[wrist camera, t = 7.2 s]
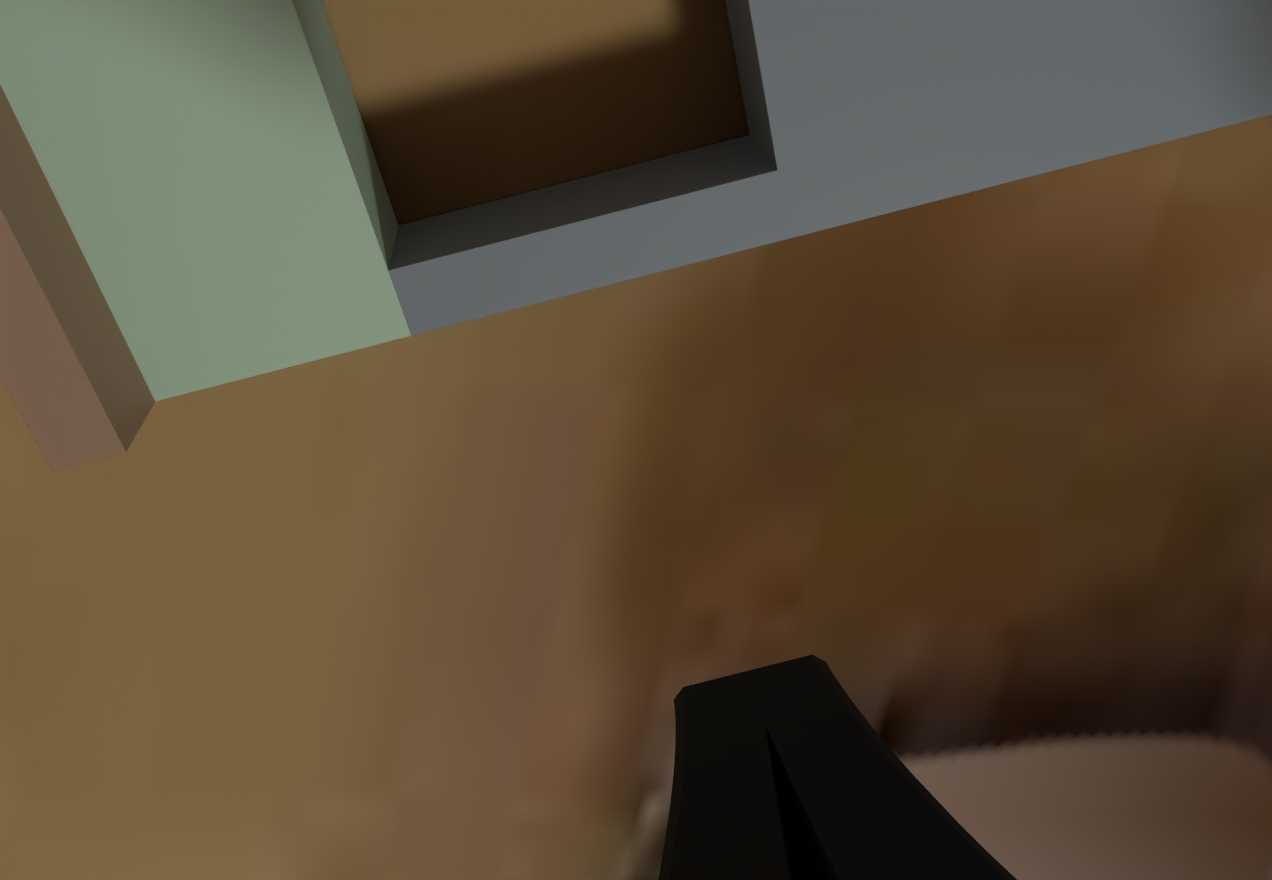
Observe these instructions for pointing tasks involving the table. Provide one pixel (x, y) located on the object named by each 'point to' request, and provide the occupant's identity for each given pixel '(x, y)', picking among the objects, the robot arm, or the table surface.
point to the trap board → (517, 225)
